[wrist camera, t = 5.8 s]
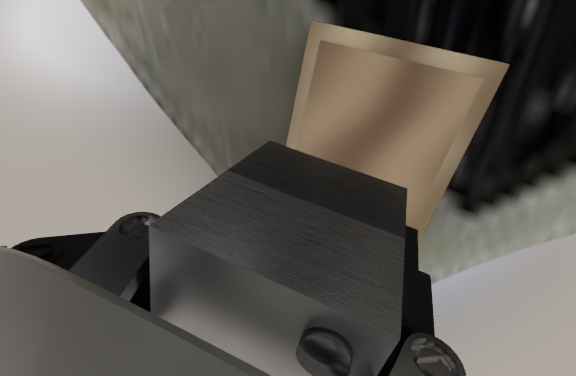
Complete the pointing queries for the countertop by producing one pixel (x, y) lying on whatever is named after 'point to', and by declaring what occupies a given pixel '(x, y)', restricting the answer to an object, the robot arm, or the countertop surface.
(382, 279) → the block
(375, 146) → the beech stand
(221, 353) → the robot arm
